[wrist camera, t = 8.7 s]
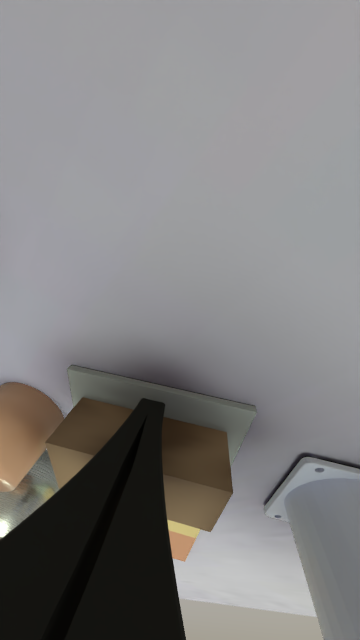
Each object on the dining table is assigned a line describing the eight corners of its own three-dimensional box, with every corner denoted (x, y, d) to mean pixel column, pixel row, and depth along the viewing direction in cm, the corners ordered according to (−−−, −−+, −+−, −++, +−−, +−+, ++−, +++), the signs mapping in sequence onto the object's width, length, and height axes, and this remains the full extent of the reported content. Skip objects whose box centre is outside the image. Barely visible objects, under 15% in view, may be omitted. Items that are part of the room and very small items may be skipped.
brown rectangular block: (226, 432, 11) (233, 492, 8) (210, 472, 13) (210, 532, 10) (82, 397, 12) (44, 442, 9) (88, 441, 14) (58, 488, 11)
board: (255, 406, 10) (256, 412, 10) (185, 556, 22) (184, 561, 22) (71, 365, 11) (66, 369, 11) (97, 529, 23) (95, 534, 23)
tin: (67, 455, 16) (13, 535, 12) (73, 481, 18) (29, 559, 14) (20, 442, 17) (-50, 515, 12) (31, 469, 19) (-25, 541, 14)
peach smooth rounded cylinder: (59, 391, 13) (0, 448, 9) (69, 440, 15) (26, 500, 12) (-13, 374, 13) (-95, 422, 10) (9, 424, 16) (-51, 477, 12)
